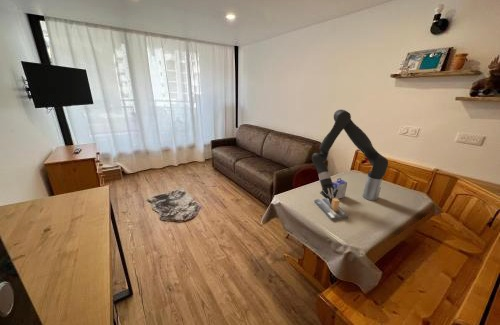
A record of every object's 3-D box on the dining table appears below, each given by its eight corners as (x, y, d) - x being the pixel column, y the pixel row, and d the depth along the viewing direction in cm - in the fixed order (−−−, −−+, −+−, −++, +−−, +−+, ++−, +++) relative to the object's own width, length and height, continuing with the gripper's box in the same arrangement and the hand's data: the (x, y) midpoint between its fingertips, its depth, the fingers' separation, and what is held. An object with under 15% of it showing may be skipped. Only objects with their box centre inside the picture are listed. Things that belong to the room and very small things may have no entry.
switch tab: (334, 208, 134) (336, 198, 131) (337, 211, 131) (339, 200, 128) (330, 209, 133) (332, 198, 130) (333, 211, 131) (335, 201, 128)
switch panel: (329, 200, 147) (330, 196, 146) (348, 218, 128) (349, 213, 127) (314, 202, 145) (314, 198, 143) (331, 220, 126) (331, 215, 124)
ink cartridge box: (339, 193, 156) (342, 176, 151) (345, 197, 152) (348, 179, 146) (329, 196, 153) (332, 179, 147) (335, 199, 148) (338, 182, 143)
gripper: (319, 178, 135) (326, 204, 128) (336, 176, 137) (345, 201, 131) (314, 182, 142) (321, 206, 135) (331, 180, 144) (338, 204, 138)
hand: (332, 204), depth 133 cm, fingers closed
